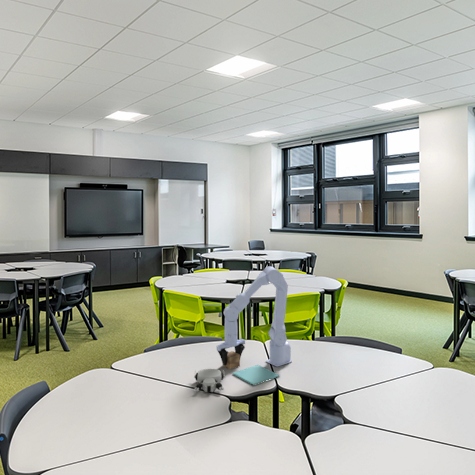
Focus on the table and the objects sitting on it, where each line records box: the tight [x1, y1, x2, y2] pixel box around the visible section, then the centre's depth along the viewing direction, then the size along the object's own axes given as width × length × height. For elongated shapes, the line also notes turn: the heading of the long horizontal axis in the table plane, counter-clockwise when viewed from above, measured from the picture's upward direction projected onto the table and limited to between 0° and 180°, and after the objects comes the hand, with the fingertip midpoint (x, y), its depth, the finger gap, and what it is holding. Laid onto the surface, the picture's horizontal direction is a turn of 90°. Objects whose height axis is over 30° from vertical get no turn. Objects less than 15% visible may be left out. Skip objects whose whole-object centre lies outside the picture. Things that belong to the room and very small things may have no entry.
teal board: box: [232, 364, 280, 386], centre depth 177 cm, size 14×14×1 cm
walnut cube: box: [222, 350, 241, 370], centre depth 187 cm, size 6×6×6 cm
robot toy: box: [193, 368, 225, 393], centre depth 167 cm, size 12×4×15 cm
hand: (231, 362), depth 187 cm, fingers open, 7 cm apart
